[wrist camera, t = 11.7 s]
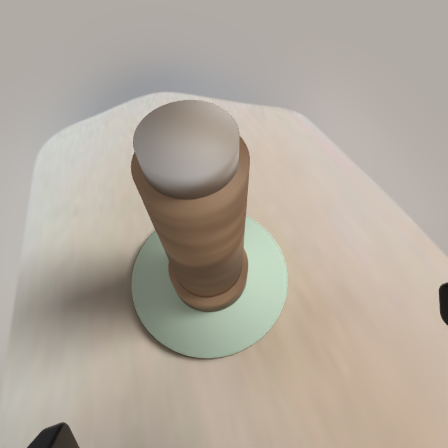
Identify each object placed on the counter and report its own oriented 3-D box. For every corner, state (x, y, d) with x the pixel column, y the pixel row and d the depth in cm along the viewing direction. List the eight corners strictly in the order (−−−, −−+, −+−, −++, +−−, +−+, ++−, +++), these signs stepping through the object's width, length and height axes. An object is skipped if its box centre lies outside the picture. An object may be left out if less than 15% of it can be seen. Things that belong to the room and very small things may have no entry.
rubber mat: (242, 394, 19) (242, 394, 18) (101, 306, 22) (98, 304, 21) (309, 248, 23) (311, 245, 23) (186, 192, 26) (185, 188, 26)
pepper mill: (224, 326, 20) (215, 225, 9) (158, 289, 22) (75, 160, 10) (259, 261, 22) (288, 112, 11) (197, 231, 24) (165, 71, 12)
